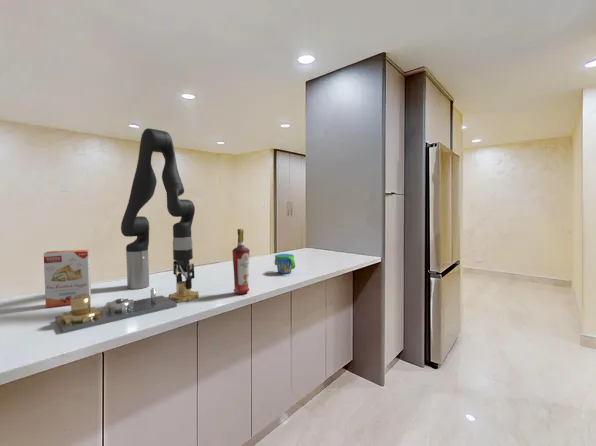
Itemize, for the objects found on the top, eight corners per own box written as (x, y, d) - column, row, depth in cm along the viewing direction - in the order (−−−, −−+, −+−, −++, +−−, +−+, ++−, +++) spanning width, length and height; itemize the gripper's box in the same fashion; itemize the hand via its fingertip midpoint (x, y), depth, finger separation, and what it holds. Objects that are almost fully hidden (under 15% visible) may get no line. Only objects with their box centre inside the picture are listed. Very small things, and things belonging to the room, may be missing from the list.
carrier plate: (55, 321, 105) (54, 297, 104) (162, 299, 129) (161, 279, 129) (62, 333, 95) (61, 307, 94) (176, 306, 119) (176, 285, 119)
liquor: (243, 289, 143) (242, 228, 141) (253, 293, 138) (252, 229, 136) (229, 293, 138) (228, 229, 136) (239, 296, 133) (238, 230, 131)
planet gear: (163, 298, 131) (163, 282, 130) (191, 292, 139) (190, 277, 139) (176, 304, 122) (175, 287, 122) (204, 297, 131) (204, 282, 130)
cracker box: (45, 308, 118) (42, 253, 117) (49, 304, 123) (46, 251, 122) (89, 303, 124) (87, 250, 123) (91, 299, 130) (89, 248, 129)
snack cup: (300, 274, 175) (300, 255, 175) (284, 276, 169) (284, 257, 169) (284, 269, 188) (284, 252, 187) (269, 271, 182) (269, 254, 181)
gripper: (166, 247, 132) (167, 286, 133) (181, 250, 122) (182, 292, 123) (183, 245, 137) (185, 282, 138) (199, 248, 127) (200, 288, 128)
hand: (184, 287), depth 130 cm, fingers open, 8 cm apart
